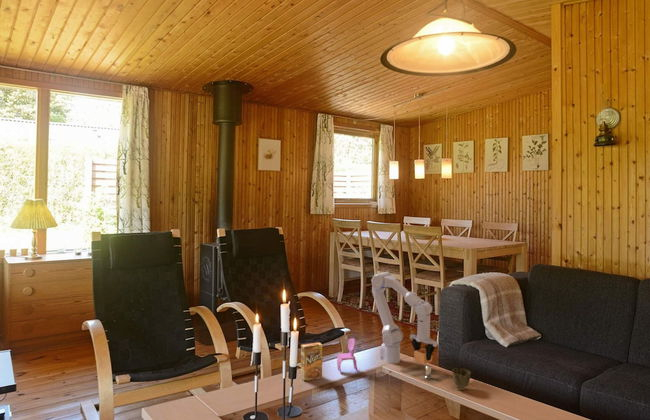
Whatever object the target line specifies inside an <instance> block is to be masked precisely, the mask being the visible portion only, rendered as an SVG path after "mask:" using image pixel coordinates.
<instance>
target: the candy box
mask: <svg viewBox="0 0 650 420" xmlns="http://www.w3.org/2000/svg"><path fill="white" fill-rule="evenodd" d="M300 375H301V376H300V378H301V380H302V381H304V380H306V381H311V379H312V380H318V378H320V379H323V344H322V343H321V342H319V341H318V342H310V343H309V342H308V343H304V344H303V343H302V344H300Z"/></svg>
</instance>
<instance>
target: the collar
mask: <svg viewBox="0 0 650 420" xmlns="http://www.w3.org/2000/svg"><path fill="white" fill-rule="evenodd" d="M413 353H414V354H413V355H414V358H413V360H414V362H417V363H418V364H421V365H427V364H429V363H431V362H433V355H432V356H431V360H427V358H426V349H425V348H420V349H419V350H416V351H415V350H414V352H413Z"/></svg>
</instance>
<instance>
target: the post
mask: <svg viewBox="0 0 650 420" xmlns="http://www.w3.org/2000/svg"><path fill="white" fill-rule="evenodd" d="M425 366H426V375H425V376H424V378H425V379H432V376H431V368H432V367H431V366H430V365H425Z"/></svg>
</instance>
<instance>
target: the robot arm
mask: <svg viewBox="0 0 650 420" xmlns="http://www.w3.org/2000/svg"><path fill="white" fill-rule="evenodd" d="M370 282H371V285H372V286H371V294H372V296H373V298H374V302H375V304H376V308H377V311H378V315H379V317H380V320H381V324H382V326H383V327H382V331H381V334H382V342H383V343H382V344H381V345H380V347H379V348H380V349H379V351H380V353H379V357H380V358H379V360H378V361H379V362H380V361H384V362H385V363H388V364H399V363H400V362H401V341H402V340H403V338H404V335H403V333H402V331H401V330H400V327H399V326H398V325H397V324H396V323H395V322H394V319H393V316H392V312H391V310H390V307H389V304H388V301H387V297H386V295H385V291H386V289H387V288H392V289H393V290H394V291H396V292H397V293H398V294H399V295H401V296H402V297H403V298H404V302H405V303H406V304H408V305H409V306H410V308H412V309H413V310H414V311H415V314H416V315H417V332H416V333H417V334H413V333H412V334H410V335H409V339H410V340H411V341H410V343H411V345H412V347H413V350H414V351H416V350H419V349H421V347H422V343H423V344H425V345H424V349H425V350H426V358H427V360H431V356H432V357H433V353H434V351H435V349H436V347H438V343H439V342H438V341H436V340H434V339H432V338H431V313H432V312H433V306H432V305H431V303H430V301H429V302H428V301H425V300H424V299H422V298H421V297H420V296H418V295H417V294H418V293H416V292H414V291H409V290H408V289H407V288H406V287H404V285H402V283H400V282H399V280H398V279H396V277H395V275H394V274H392V273H391V272H390V271H383V272H381V273H375V274H374V275H373V276H372V277H371V281H370Z"/></svg>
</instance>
